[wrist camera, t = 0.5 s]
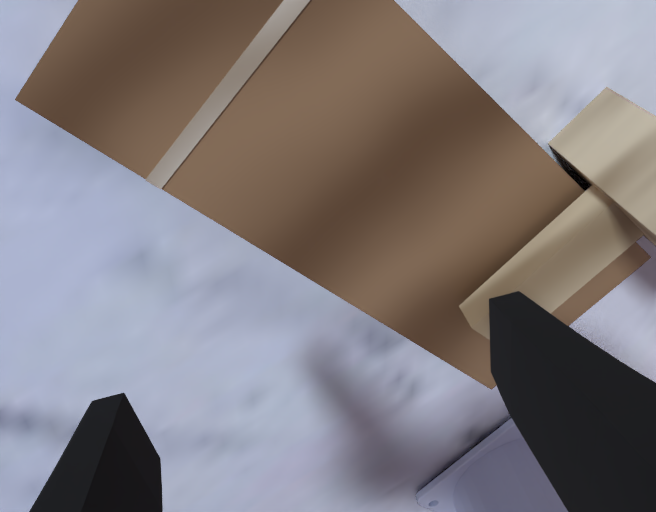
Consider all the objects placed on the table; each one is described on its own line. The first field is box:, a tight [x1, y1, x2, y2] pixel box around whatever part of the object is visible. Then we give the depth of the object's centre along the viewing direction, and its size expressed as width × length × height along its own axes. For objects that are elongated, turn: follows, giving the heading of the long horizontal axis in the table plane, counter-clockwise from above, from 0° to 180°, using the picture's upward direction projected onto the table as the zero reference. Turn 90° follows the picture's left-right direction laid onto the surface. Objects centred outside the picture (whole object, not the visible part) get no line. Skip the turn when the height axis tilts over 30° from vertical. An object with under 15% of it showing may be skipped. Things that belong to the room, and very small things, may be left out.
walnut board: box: [15, 0, 651, 389], centre depth 19 cm, size 20×8×2 cm, turn 48°
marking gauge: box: [459, 87, 656, 340], centre depth 20 cm, size 4×8×6 cm, turn 138°
